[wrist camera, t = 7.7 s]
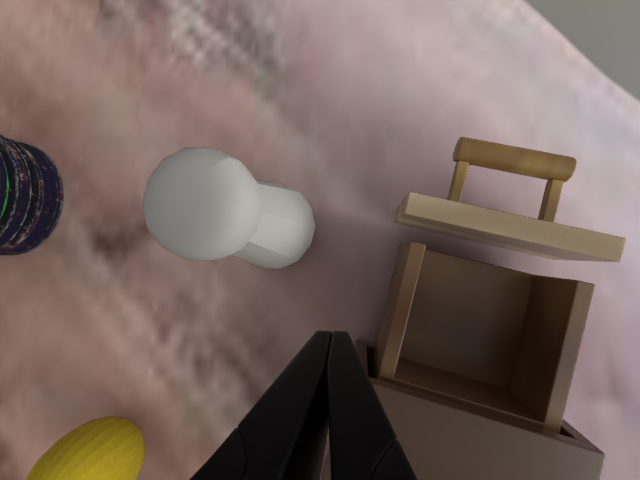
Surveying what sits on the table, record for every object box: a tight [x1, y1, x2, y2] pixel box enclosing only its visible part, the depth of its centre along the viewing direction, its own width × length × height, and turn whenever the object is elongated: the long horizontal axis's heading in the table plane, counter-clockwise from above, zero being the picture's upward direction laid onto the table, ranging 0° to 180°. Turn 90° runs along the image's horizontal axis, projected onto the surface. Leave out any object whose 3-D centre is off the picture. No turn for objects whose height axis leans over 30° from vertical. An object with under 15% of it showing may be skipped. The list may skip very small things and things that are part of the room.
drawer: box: [372, 137, 626, 434], centre depth 18 cm, size 15×10×5 cm
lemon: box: [26, 417, 145, 480], centre depth 21 cm, size 6×6×8 cm
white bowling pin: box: [143, 147, 316, 268], centre depth 17 cm, size 6×6×13 cm
